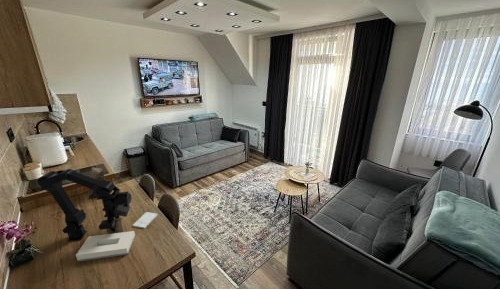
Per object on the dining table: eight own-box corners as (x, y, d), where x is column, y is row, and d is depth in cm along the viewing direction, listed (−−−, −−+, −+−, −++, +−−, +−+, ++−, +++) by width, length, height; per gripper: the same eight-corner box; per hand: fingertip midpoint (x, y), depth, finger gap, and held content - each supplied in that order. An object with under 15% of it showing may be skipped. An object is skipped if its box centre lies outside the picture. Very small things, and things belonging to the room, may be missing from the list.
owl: (95, 190, 157) (88, 166, 150) (113, 188, 160) (108, 165, 154) (87, 199, 146) (80, 174, 139) (107, 197, 149) (101, 172, 142)
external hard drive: (157, 215, 132) (144, 229, 121) (146, 213, 134) (132, 227, 122) (157, 213, 132) (144, 227, 120) (145, 211, 133) (131, 224, 122)
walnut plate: (108, 235, 115) (104, 222, 112) (109, 232, 117) (106, 219, 114) (123, 233, 117) (120, 220, 114) (125, 230, 119) (122, 217, 116)
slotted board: (77, 261, 99) (75, 255, 98) (90, 242, 110) (88, 236, 109) (127, 254, 104) (126, 248, 102) (135, 236, 115) (134, 230, 113)
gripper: (120, 213, 104) (125, 238, 109) (131, 193, 121) (136, 215, 126) (95, 216, 101) (101, 241, 107) (110, 195, 119) (116, 217, 124)
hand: (115, 227), depth 116 cm, fingers open, 5 cm apart
